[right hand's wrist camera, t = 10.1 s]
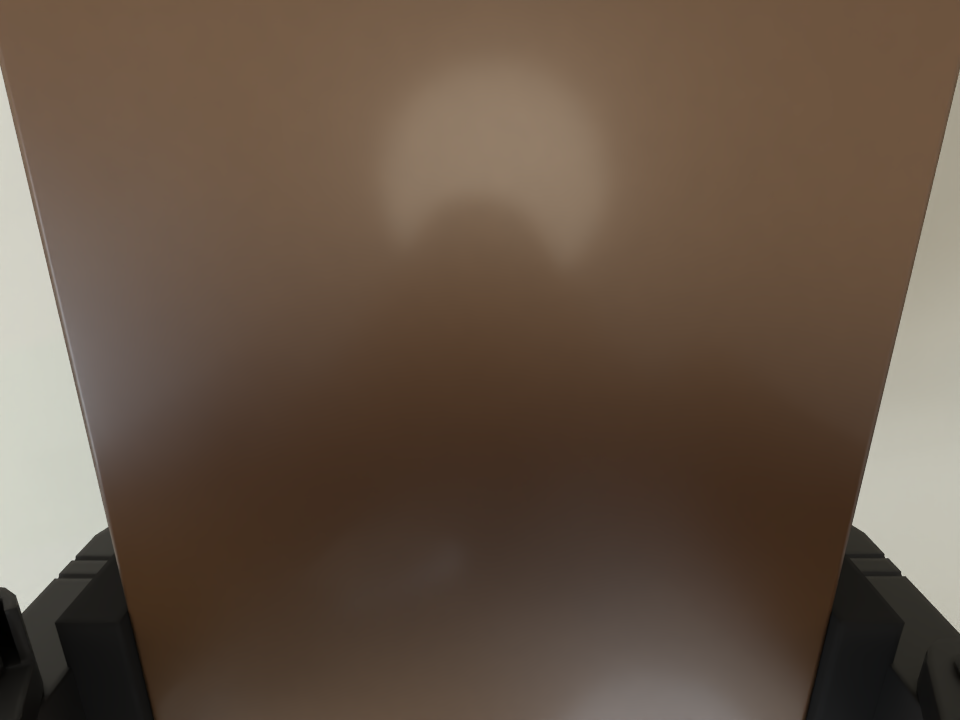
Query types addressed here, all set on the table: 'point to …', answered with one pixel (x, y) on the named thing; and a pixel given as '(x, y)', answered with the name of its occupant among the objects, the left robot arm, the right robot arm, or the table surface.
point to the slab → (480, 335)
